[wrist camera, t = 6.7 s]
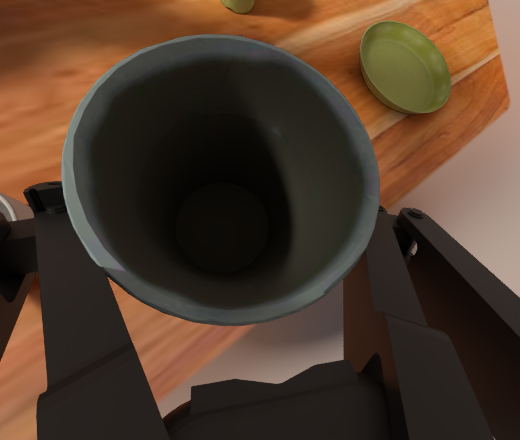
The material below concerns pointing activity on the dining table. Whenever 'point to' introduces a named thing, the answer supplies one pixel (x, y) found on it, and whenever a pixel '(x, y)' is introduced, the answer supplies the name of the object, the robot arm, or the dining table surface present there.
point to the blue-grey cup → (220, 180)
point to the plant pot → (239, 5)
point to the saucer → (404, 68)
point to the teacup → (14, 209)
